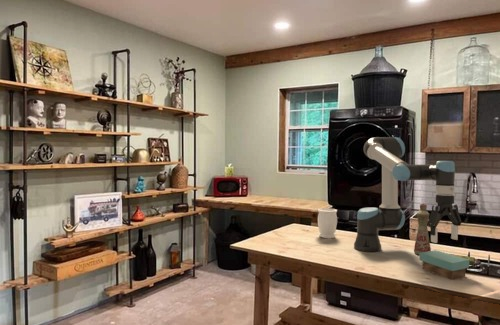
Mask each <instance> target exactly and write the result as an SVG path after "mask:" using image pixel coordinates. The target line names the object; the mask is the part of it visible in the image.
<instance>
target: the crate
mask: <svg viewBox="0 0 500 325" xmlns="http://www.w3.org/2000/svg"><path fill="white" fill-rule="evenodd" d="M422 270H423V271H427V272H429V273H432V274H434V275H438V276H440V277H443V278H446V279H449V280H451V281H452V280H456V279H461V278H466V268H465V269H460V270H455V271H451V270H448V269H445V268H442V267H439V266H436V265H433V264H430V263H427V262H424V261H422Z"/></svg>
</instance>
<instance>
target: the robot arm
mask: <svg viewBox="0 0 500 325" xmlns="http://www.w3.org/2000/svg"><path fill="white" fill-rule="evenodd" d="M405 152H406V146H405V143H404V141H403V140H402V139H401V137H396V136H391V137H390V136H389V137H388V136H387V137H386V136H383V137H382V136H381V137H380V136H376V137H371V138H369V139H368V140H366V142H365V143H364V145H363V153H364V155H365V157H367V158H369V159H370V160H375V161H376V162H378V163H379V164H380V165H381V204H380V205H379V207H370V206H369V207H362V208H359V210H358V211H357V215H356V219H357V220H356V221H357V224H356V227H357V228H356V237H355V240H354V242H353V248H354V249H355V250H357V251H360V252H367V253H376V252H380V251H382V244H381V241H380V238H379V231H395V230H400V229H402V227H403V226H404V224H405V221H406V216H405V212H404V211H403V210H402V209H401V206H400V205H399V203H398V201H399V200H398V197H399V196H398V193H399V192H398V190H399V188H398V185H399V184H398V181H400V182H407V181H408V182H409V181H435V194H436V195H435V203H437V205H432V206H431V211H430V213H429V219H428V223H427V228H430V243H434V244H437V243H438V227H437V226H438V225H439V223H440V221H441V219H442V218H443V217H444V216H447V217H448V219H449V221H450V222H451V223H452V224H451V225H450V226H451V227H450V231H451V233H450V234H451V236H450V239H452V240H456V241H458V240H459V239H458V237H459V236H458V234H459V226H460V227H461V225H462V219H461V218H462V217H461V216H460V213H459V210H458V204H455V195H454V194H455V173H456V167H455V166H456V165H455V162H454V161H452V160H438V161H437V160H436V163H435V164H429V163H427V164H410V163H408V162H406V161H404V160H402V159H401V158H402V157H403V156H404V155H405Z"/></svg>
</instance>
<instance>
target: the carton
mask: <svg viewBox="0 0 500 325" xmlns="http://www.w3.org/2000/svg"><path fill="white" fill-rule="evenodd" d="M446 253H447V254H451V255H454V256H458V257H461V258H465V259H468V260H469V265H473V266H474V264H475V265H476V263H475V262H476V258H475V256H468V255H460V254H456V253H455V254H454V253H448V252H446Z"/></svg>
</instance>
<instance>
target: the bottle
mask: <svg viewBox="0 0 500 325" xmlns="http://www.w3.org/2000/svg"><path fill="white" fill-rule="evenodd" d="M427 206H428V205H427V204H425V203H420V204H419V210H418V211H417V213H416V216H417V223H418V226H417V231H416V232H417V233H416V235H415V236H416V237H415V242H414V248H413V253H414V254H416V255H420V253H421V252H427V251H432V247H431V241H430V237H429V229H428V228H429V227H428V226H427V223H428V220H429V217H430V213H429V212H428V211H427Z"/></svg>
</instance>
